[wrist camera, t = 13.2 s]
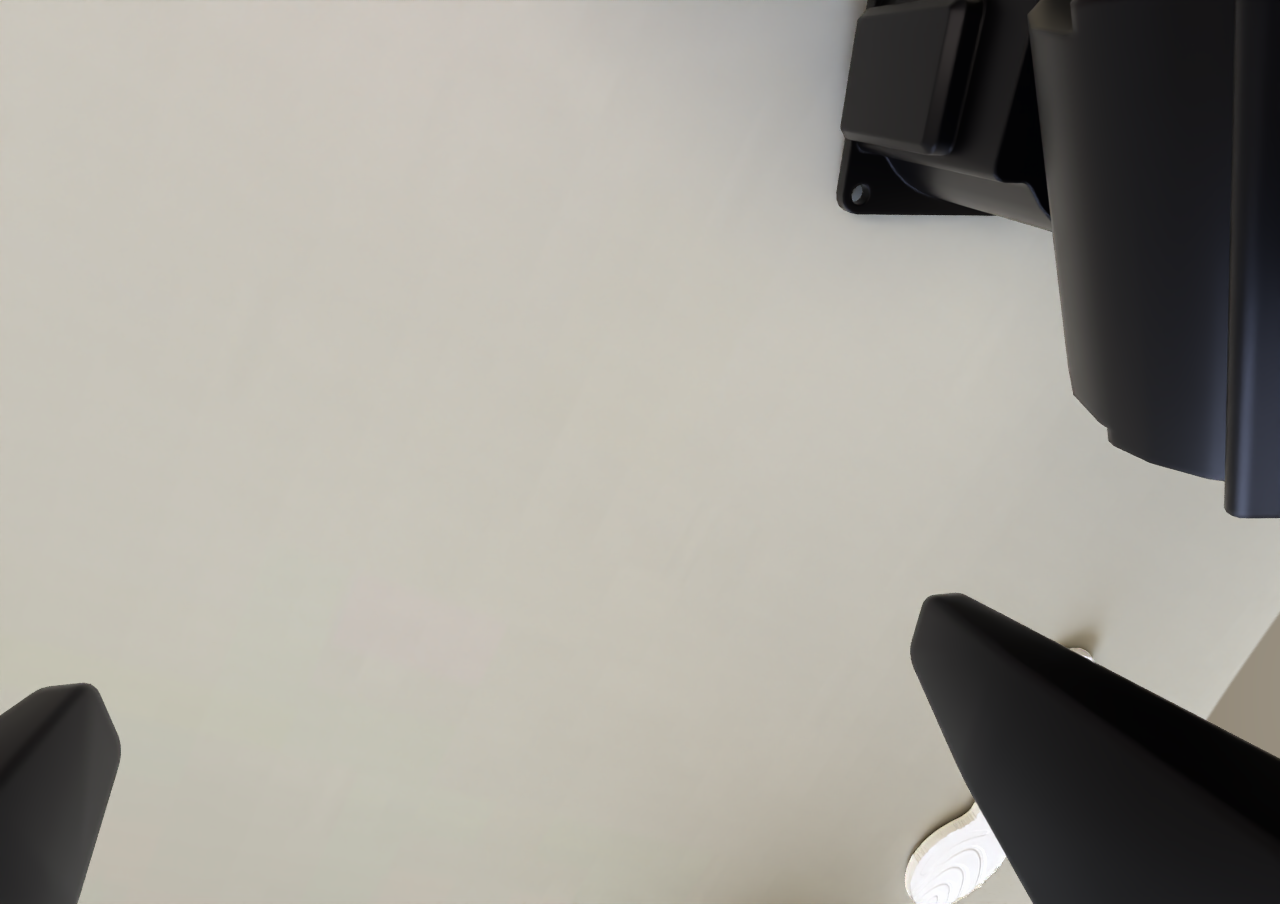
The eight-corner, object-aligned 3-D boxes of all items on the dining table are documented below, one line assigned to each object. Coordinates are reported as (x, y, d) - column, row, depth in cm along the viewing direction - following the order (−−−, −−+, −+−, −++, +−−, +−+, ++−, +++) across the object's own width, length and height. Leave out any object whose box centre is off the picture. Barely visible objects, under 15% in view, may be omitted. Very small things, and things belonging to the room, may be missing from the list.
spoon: (1124, 647, 31) (1134, 656, 31) (971, 896, 39) (976, 906, 39) (1023, 648, 30) (1031, 657, 29) (885, 906, 38) (890, 916, 37)
